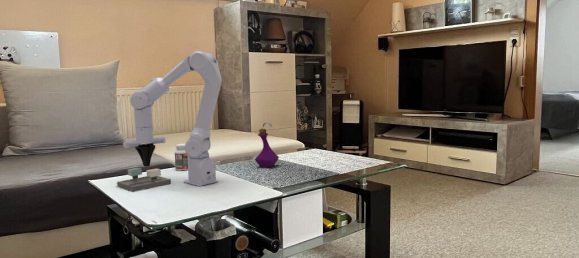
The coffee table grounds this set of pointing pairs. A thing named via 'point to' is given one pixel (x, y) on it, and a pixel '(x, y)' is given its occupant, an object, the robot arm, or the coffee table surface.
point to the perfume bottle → (266, 151)
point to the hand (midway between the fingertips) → (146, 165)
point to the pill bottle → (181, 158)
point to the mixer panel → (143, 183)
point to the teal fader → (134, 172)
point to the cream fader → (153, 173)
